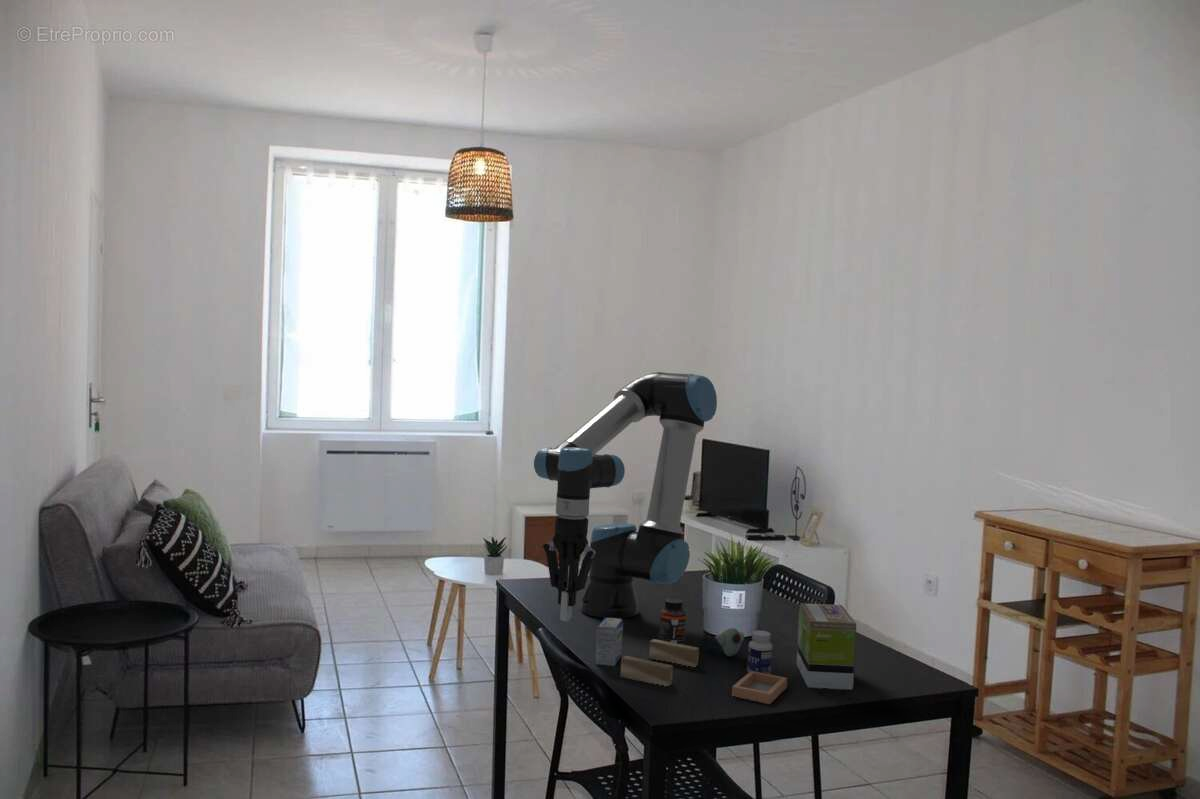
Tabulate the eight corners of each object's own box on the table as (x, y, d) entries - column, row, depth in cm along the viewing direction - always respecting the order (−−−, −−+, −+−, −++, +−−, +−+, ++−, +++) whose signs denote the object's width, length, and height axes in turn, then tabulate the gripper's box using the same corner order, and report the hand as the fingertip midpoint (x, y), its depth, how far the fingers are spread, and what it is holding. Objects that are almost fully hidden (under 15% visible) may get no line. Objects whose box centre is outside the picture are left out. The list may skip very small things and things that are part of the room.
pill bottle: (742, 670, 222) (744, 630, 222) (760, 667, 225) (762, 628, 224) (757, 677, 218) (759, 637, 217) (776, 674, 220) (778, 634, 220)
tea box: (794, 665, 228) (798, 601, 227) (839, 668, 227) (843, 603, 227) (806, 688, 213) (810, 619, 212) (854, 691, 212) (858, 622, 212)
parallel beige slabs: (652, 656, 229) (653, 639, 229) (697, 665, 224) (698, 647, 224) (620, 676, 214) (621, 658, 214) (668, 687, 209) (669, 668, 209)
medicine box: (615, 667, 220) (617, 628, 220) (595, 664, 221) (597, 625, 221) (621, 656, 228) (623, 618, 227) (602, 654, 229) (604, 616, 228)
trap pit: (750, 679, 216) (750, 670, 216) (786, 687, 212) (787, 678, 212) (731, 696, 205) (732, 686, 205) (769, 704, 202) (770, 694, 202)
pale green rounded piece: (738, 652, 235) (740, 623, 235) (750, 657, 232) (751, 628, 232) (711, 656, 231) (713, 627, 231) (722, 661, 228) (724, 632, 227)
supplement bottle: (680, 653, 232) (682, 605, 232) (655, 649, 234) (657, 601, 234) (686, 646, 238) (689, 599, 237) (662, 642, 240) (665, 596, 239)
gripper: (538, 514, 227) (532, 617, 228) (589, 521, 221) (583, 628, 222) (554, 511, 234) (548, 611, 235) (605, 518, 228) (598, 621, 229)
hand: (565, 619), depth 229 cm, fingers closed
